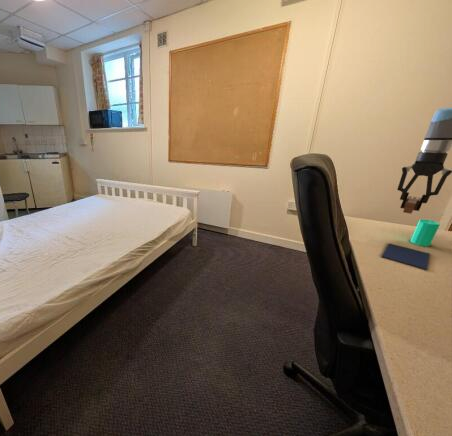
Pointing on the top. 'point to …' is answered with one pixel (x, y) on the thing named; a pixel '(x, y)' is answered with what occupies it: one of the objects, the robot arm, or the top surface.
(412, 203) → the brown rectangular bar
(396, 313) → the top surface
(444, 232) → the top surface
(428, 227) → the candle
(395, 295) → the top surface
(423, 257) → the placemat
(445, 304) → the top surface
